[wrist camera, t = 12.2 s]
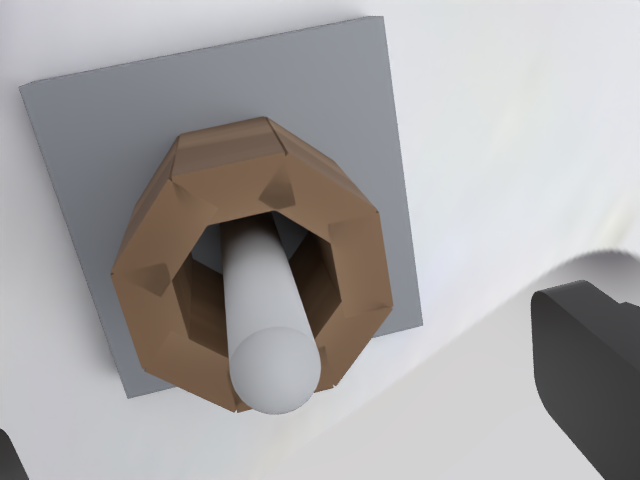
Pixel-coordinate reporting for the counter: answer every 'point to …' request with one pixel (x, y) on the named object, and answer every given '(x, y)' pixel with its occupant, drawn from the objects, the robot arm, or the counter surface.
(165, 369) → the bead
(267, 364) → the rod stand
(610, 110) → the counter surface
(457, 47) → the counter surface
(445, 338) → the counter surface
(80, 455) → the counter surface
